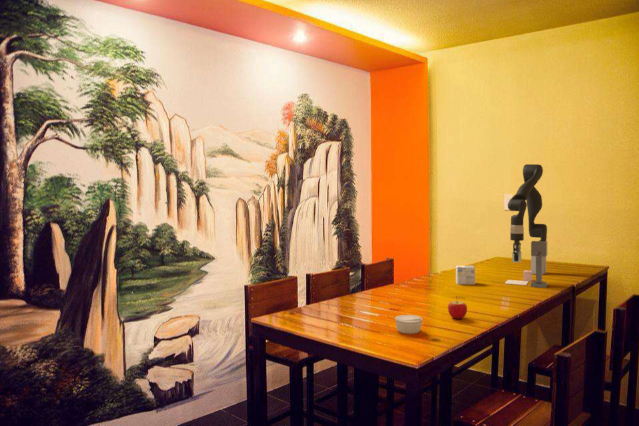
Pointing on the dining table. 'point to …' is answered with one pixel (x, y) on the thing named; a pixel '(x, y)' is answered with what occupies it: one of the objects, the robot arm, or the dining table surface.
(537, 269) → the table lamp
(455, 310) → the apple
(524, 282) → the plate
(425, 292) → the dining table surface
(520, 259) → the pale green rectangular block
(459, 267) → the light bulb box
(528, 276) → the block
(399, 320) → the ramekin
